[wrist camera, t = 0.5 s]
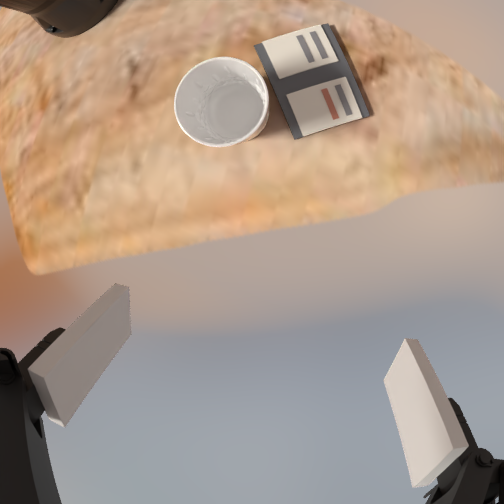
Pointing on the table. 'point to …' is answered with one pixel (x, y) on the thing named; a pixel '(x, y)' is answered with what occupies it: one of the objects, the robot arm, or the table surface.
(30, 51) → the table surface
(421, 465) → the robot arm
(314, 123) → the label board
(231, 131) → the white cup
